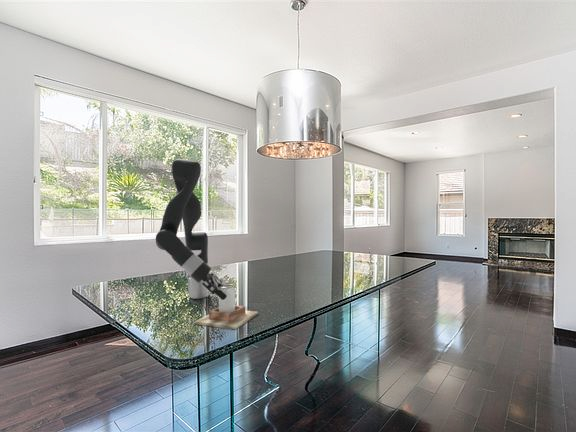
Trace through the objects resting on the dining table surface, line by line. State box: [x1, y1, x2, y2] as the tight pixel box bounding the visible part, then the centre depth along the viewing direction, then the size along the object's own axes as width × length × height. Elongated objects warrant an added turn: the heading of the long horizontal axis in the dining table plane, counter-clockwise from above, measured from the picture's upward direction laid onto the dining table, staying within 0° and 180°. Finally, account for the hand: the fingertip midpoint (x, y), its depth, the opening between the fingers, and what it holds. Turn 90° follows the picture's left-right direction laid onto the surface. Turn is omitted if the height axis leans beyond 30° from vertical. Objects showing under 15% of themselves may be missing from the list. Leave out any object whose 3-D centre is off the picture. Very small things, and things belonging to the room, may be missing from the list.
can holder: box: [194, 304, 259, 330], centre depth 123 cm, size 18×18×4 cm
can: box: [218, 284, 236, 313], centre depth 123 cm, size 6×6×12 cm
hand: (226, 295), depth 123 cm, fingers open, 8 cm apart
